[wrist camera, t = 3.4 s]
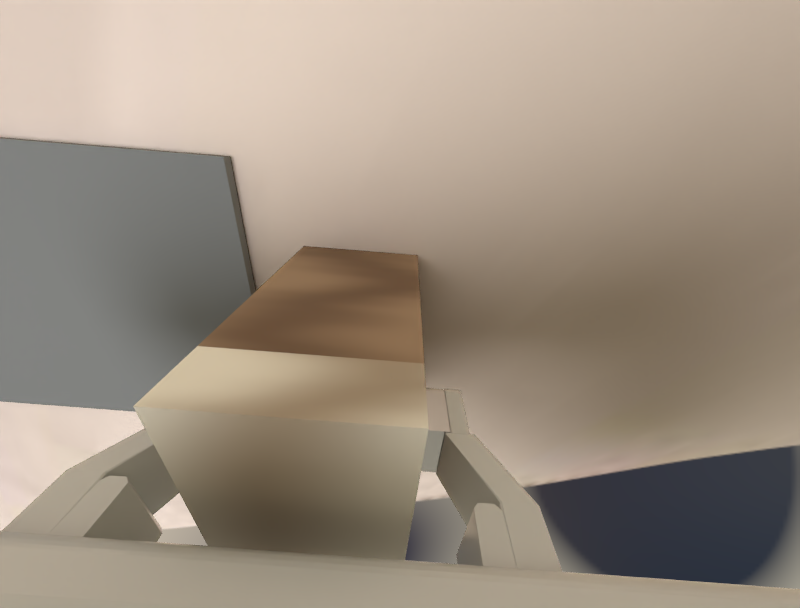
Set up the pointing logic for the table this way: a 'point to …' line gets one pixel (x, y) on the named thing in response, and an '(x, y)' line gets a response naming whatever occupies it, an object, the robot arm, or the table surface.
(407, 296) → the brown and cream block
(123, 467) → the robot arm
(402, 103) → the table surface
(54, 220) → the mat
